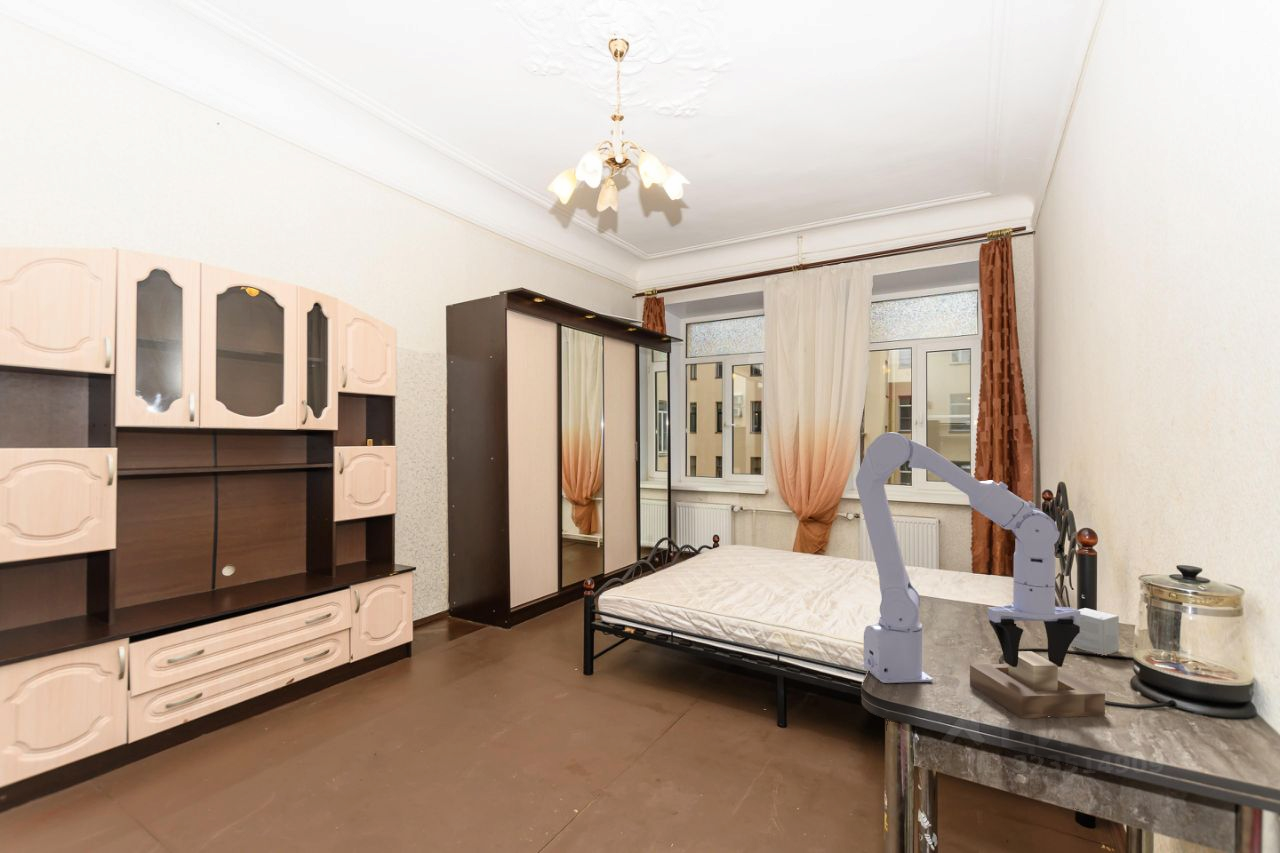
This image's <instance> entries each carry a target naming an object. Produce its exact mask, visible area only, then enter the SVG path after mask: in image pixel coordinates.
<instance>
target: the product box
mask: <svg viewBox="0 0 1280 853" xmlns="http://www.w3.org/2000/svg"><path fill="white" fill-rule="evenodd" d="M1078 610H1079V611H1080V623H1075V622H1073V624H1076V625H1078V626H1080V633H1079V634H1078V635H1077V636H1076V637H1075V638H1074V640H1073V641H1072V643H1071V644H1070V647H1071V646H1072V648H1075V647H1076V649H1078V648H1079V650H1083V651H1085V652H1089V651H1090V652H1089V653H1092V652H1094V653H1093V654H1096V653H1097V655H1099V654H1102V655H1101V656H1103V655H1105V656H1108V655H1107V654H1109V655H1112V654H1114V653H1118V652H1119V651H1120V631H1119V630H1120V627H1119V624H1120V623H1119V620H1120V619H1119V618H1120V617H1119V615H1116V614H1112V613H1108V612H1104V611H1103V612H1102V611H1099V610H1095V609H1091V608H1087V607H1084V608H1079V609H1078Z"/></svg>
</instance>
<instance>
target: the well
mask: <svg viewBox="0 0 1280 853" xmlns="http://www.w3.org/2000/svg"><path fill="white" fill-rule="evenodd" d="M1008 667H1009V664H1007V663H991V664H990V663H987V664H985V663H983V664H969V685H970V686H971V687H973V688H975V689H977V690H978V691H979V690H980V692H981V693H982V692H983V694H984V695H985V694H986V696H987V695H988V696H989V699H991V698H992V699H991V700H993V701H994V700H995V701H994V702H996V703H998V704H999V705H1001V707H1003V708H1005V709H1006V710H1008V711H1009V712H1011V713H1012V714H1014V715H1015V716H1016V717H1018V716H1019V718H1020V719H1041V717H1047V718H1049V717H1048V716H1057V717H1056V718H1067V717H1074V718H1075V717H1091V716H1092V717H1093V716H1095V717H1096V716H1106V693H1105V692H1103V691H1101V690H1099V689H1097V688H1095V687H1093V686H1091V685H1089V684H1087V683H1085V682H1084V681H1081V680H1079V679H1077V678H1076V677H1073V676H1072V675H1069V674H1067V673H1065V672H1063V671H1061V670H1059V669H1058V691H1034V690H1032V689H1030V688H1029V687H1027V686H1025V685H1023V684H1022V683H1020V682H1018V681H1017V680H1015V679H1013V678H1011V677H1010V676H1008ZM988 696H987V697H988Z"/></svg>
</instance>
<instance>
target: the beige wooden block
mask: <svg viewBox="0 0 1280 853" xmlns="http://www.w3.org/2000/svg"><path fill="white" fill-rule="evenodd" d="M1058 670H1059V667H1058V665H1056V664H1054V663H1052V662H1050V661H1049V659H1046V658H1045V657H1043V656H1041V655H1039V654H1037V653H1036V652H1034V651H1031V650H1030V651H1029V650H1027V651H1025V650H1021V651H1020V650H1018V665H1017V667H1012V666H1010V665H1009V667H1008V676H1010V677H1011V678H1013V679H1015V680H1017V681H1018V682H1020V683H1022V684H1023V685H1025V686H1027V687H1029V688H1030V689H1032V690H1034V691H1058Z"/></svg>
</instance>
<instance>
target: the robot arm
mask: <svg viewBox="0 0 1280 853" xmlns="http://www.w3.org/2000/svg"><path fill="white" fill-rule="evenodd" d="M907 461H908V462H909V463H908V466H907V467H908V468H911V469H912V468H913V469H921V470H927V471H928V472H930V473H932V474H933V475H935V476H936V477H938V478H940V479H942V480H943V481H944V482H946V483H948V484H949V485H951V486H952V487H954V488H955V489H957V490H959V491H961V492H962V493H964V494H965V495H966V496H968V501H969V505H970V507H971V508H972V509H974V510H976V511H977V512H979V513H980V514H981V515H983V516H985V518H987V519H989V520H991V521H992V522H993V523H995V524H996V525H997V526H999V527H1001V528H1002V529H1004V530H1008V531H1009V530H1010V531H1012V533H1013V534H1014V536H1015V546H1014V547H1015V548H1014V553H1013V582H1012V583H1013V586H1012V590H1013V593H1012V595H1013V599H1012V600H1013V601H1012V604H1007V605H998V606H993V607H991V606H989V607H987V617H986V618H987V619H988V620H989V623H990V624H989V625H991V627H992V629H993V631H994V634H996V637H997V640H998V642H999V645H1000V648H1001V651H1002V655H1003V659H1004V664H1009V665H1010V666H1012V667H1017V665H1018V651H1020V644H1021V643H1020V642H1021V638H1022V635H1023V632H1024V628H1021V627H1019V626H1017V623H1015V622H1043V623H1044V624H1043V625H1044V628H1045V632H1046V633H1045V634H1046V637H1047V638H1046V639H1047V657H1048V659H1047V660H1048V661H1050V662H1052V663H1054V664H1056V665H1058V668H1060V667H1061V668H1063V664H1064V661H1065V658H1066V656H1067V653H1068V651H1069V648H1070V647H1071V643H1072V641H1073V640H1074V638H1075V637H1076V636H1077V635H1078V634H1079V633H1080V626H1078V625H1076V624H1073V622H1075V623H1080V611H1079V609H1076V608H1074V607H1071V606H1070V607H1068V606H1066V607H1065V606H1056V557H1055V552H1056V548H1055V544H1056V543H1057V542H1058V540H1059V538H1060V534H1061V533H1060V531H1059V530H1058V525H1057V524H1056V522H1055V521H1054V519H1052V517H1051V516H1049V515H1048V514H1046V513H1045V512H1043V510H1042V509H1040V508H1036V504H1035V503H1034V502H1032V501H1031V500H1029V501H1026V500H1024V499H1022V498H1021V497H1020V496H1018V495H1016V494H1015V493H1013V492H1011V491H1010V490H1008V488H1009V486H1008V485H1007V484H1006V483H1004V482H1003V481H1000V482H998V483H997V482H996V481H995V480H993V479H991V480H981V481H980V480H978V479H977V478H975V477H973V475H970V474H969V472H966V471H965V470H964V469H962V468H961V467H959V466H957V464H955V463H953V462H952V461H950V460H949V459H948V458H946V457H944V455H942V454H940V453H938V452H937V451H936V450H934V449H933V448H931V447H929V446H926V445H924V444H923V443H921V442H918V441H916V440H913V439H909V438H908V437H907V436H906V435H905V434H902V433H899V432H884V433H881V434H880V435H877V437H876V438H875V439H874V440H873V441H872V442H871V443H870V444H869V446H867V448H866V450H865V454H864V457H863V459H862V461H861V464H860V467H859V468H858V471H857V474H856V478H855V486H856V490H857V493H858V498H859V502H860V505H861V510H862V513H863V517H864V523H865V525H866V530H867V533H868V536H869V541H870V545H871V550H872V553H873V557H874V560H875V561H874V562H875V566H876V568H877V573H878V582H879V590H880V595H881V601H880V604H879V614H880V616H879V618H878V622H876V623H875V624H871V625H867V626H866V627H865V629H864V631H863V662H862V663H861V666H862V667H863V668H865V670H866V671H868V672H869V669H870V666H871V669H870V672H869V673H870V674H871V675H872V676H874V678H876V679H877V680H879V682H881V683H882V684H891V683H892V684H896V683H924V682H925V683H927V682H933V681H934V679H933V677H932V676H930V675H928V674H927V673H926V672H924V671H923V624H922V622H920V620H919V615H920V613H919V609H920V606H921V597H920V594H919V593H918V591H917V590H916V589H915V587H913V585H912V582H911V580H910V577H909V573H908V571H907V569H906V567H905V562H904V558H903V555H902V550H901V546H900V542H899V538H898V535H897V531H896V528H895V524H894V520H893V516H892V512H891V511H892V510H891V507H890V504H889V500H888V496H887V493H886V489H885V484H886V483H887V481H888V480H889V479H890V477H891V476H892V475H893V473H894V471H895V470H896V469H899V467H901V466H902V465H904V464H905V463H906V462H907Z"/></svg>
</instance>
